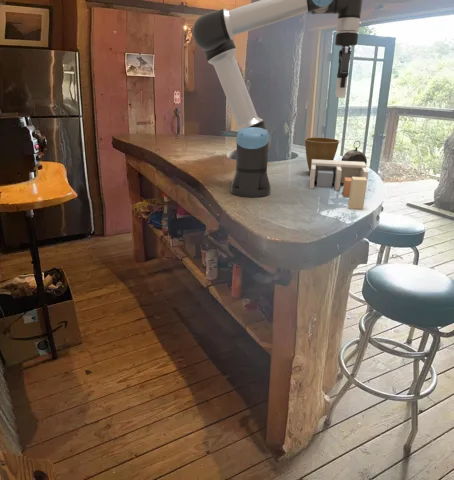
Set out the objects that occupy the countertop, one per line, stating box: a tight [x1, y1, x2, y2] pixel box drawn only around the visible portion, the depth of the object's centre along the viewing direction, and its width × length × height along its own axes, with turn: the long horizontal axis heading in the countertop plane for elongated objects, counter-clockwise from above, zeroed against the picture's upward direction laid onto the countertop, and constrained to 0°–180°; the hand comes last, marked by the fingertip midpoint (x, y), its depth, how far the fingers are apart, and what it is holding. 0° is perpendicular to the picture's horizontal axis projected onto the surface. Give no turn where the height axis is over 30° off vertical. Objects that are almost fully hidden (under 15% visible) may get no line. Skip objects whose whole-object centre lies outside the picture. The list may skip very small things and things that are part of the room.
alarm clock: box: [340, 140, 368, 165], centre depth 178 cm, size 11×5×16 cm, turn 104°
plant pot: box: [304, 136, 340, 174], centre depth 182 cm, size 15×15×16 cm
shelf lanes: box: [309, 159, 369, 191], centre depth 165 cm, size 22×16×9 cm
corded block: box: [342, 177, 368, 210], centre depth 144 cm, size 6×21×10 cm, turn 169°
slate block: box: [316, 170, 333, 188], centre depth 165 cm, size 6×6×6 cm
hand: (339, 97), depth 149 cm, fingers open, 13 cm apart
